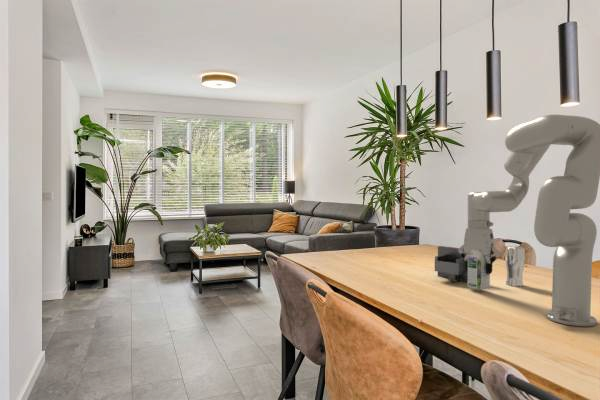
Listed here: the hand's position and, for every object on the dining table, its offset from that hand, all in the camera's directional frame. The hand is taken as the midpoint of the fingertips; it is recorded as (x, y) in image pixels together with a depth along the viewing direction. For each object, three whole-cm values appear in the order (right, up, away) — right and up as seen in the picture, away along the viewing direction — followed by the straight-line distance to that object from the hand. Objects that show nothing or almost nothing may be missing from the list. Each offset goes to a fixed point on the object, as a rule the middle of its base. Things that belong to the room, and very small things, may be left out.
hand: (478, 271), depth 155 cm
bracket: (-4, -7, +17) cm, 18 cm away
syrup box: (0, -6, 0) cm, 6 cm away
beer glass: (+19, -7, +10) cm, 22 cm away
